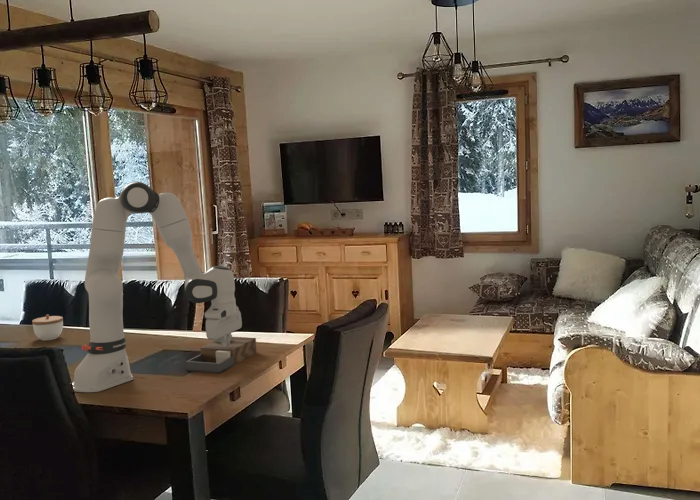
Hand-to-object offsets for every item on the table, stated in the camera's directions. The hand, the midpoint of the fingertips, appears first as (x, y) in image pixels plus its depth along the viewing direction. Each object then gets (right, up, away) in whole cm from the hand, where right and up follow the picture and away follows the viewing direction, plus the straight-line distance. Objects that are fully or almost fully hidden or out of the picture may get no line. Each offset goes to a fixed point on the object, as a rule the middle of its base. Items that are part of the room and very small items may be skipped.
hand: (225, 345), depth 235 cm
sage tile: (-3, 0, +12) cm, 12 cm away
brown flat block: (0, -6, +9) cm, 11 cm away
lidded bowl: (-91, -5, +51) cm, 104 cm away
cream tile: (0, -4, -1) cm, 4 cm away
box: (-5, -8, -4) cm, 10 cm away
